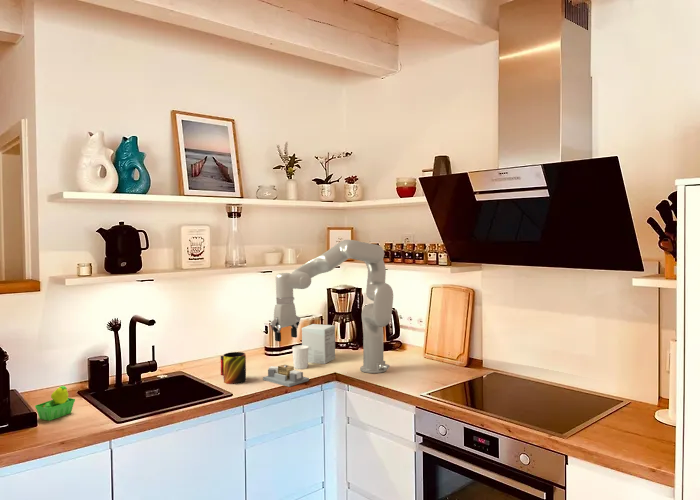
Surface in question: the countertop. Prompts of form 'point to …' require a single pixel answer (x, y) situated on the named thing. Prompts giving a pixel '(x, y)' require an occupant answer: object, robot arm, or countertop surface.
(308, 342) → the supplement box
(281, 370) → the coupler
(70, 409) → the fruit basket
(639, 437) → the countertop surface
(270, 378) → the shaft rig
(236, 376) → the mug
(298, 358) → the white cup
